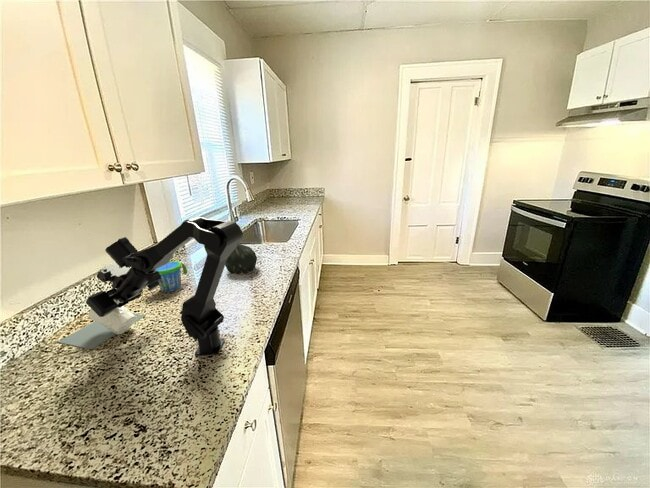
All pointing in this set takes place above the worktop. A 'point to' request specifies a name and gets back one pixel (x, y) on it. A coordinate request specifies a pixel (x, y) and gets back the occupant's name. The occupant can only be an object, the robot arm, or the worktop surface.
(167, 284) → the snack cup
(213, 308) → the robot arm
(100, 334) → the mat
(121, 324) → the white cup
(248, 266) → the squash
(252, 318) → the worktop surface
